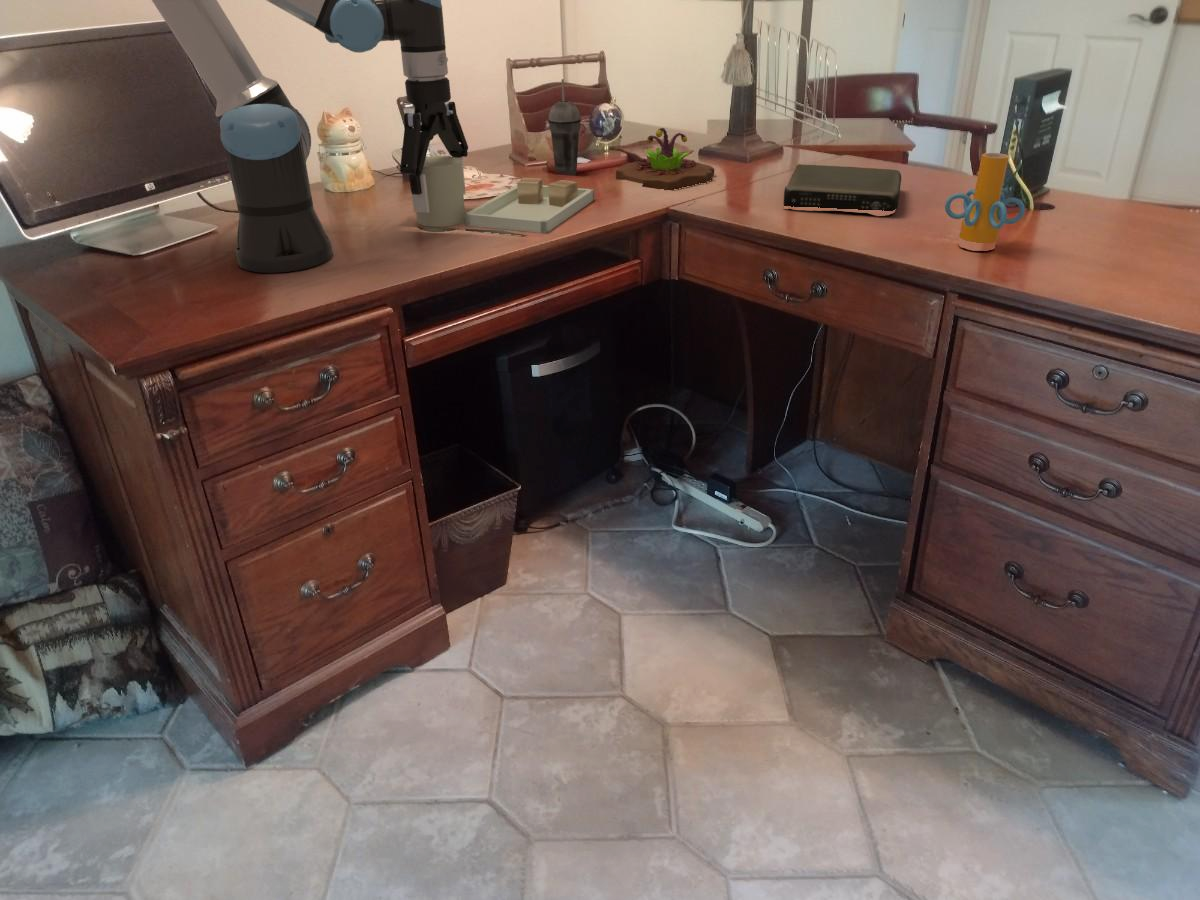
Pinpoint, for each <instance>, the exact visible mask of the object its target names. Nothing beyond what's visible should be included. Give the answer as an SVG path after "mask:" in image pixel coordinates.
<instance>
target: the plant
mask: <svg viewBox="0 0 1200 900" xmlns="http://www.w3.org/2000/svg"><path fill="white" fill-rule="evenodd" d="M667 133H668V132H667V130H666V129H665V128H664V127H660V128H659V129H657V130H656V132H655V135H649V136H648V137H647V138H646V139H647V142H648V143H649V144H652V143H654V140H655V141H657V143H658V144H659V145H660V147H661V148H659V147H657V148H656V150H655V151H654V150H651V149H648V148H646V149H645V152H646V153H647V154H645V155H644V156H645V157H647V158H642V159H640V158H635V159H634V161H632V162H629V163H625V164H622V165H621V166H619V167H618V168H617V169H616V170H615V180H618V181H620V180H621V181H628V182H632V183H638V184H642V185H641V188H647V189H648V188H649V189H655V190H660V189H664V190H663V191H667V190H672V191H675V190H674V189H678V190H680V189H679V188H681V189H683V188H682V187H687V186H691V187H693V186H692V185H694V186H696V185H695V184H698V185H700V184H699V183H706V184H707V182H706V181H710V180H712V181H713V178H714V177H715V168H714V167H713V166H711V165H709V164H705V163H700V162H697V161H695V160H692V159H687V158H685V157H687V156H688V155H689V154H690V151H687V152H683V153H682V152H680V153H679V151H680V149H679V148H675V146H674V145H675V141H676V139H677V138H678V137H679V136H680V139H681V141H682V142H683V143H686V142H687V141H688V137H687V136H686V134H685V133H681V132H678V133H675V134H674V135H673V137H672V138H671V139H670V140H669V137H668V136H669V135H668V134H667ZM662 136H663V140H661V137H662ZM669 141H670V142H669ZM713 176H714V177H713ZM710 182H711V181H710ZM687 188H688V187H687Z"/></svg>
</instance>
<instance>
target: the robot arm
mask: <svg viewBox="0 0 1200 900" xmlns="http://www.w3.org/2000/svg"><path fill="white" fill-rule="evenodd" d="M151 1H152V3H153V4H154V6H155V8H156V9H157V11H158V12H159V14H160V16H161V17H162V18H163V20H164V22H165V23H166V25H167V26H168V28H169V29H170V30H171V32H172V34H173V35H174V36H175V38H176V40H177V42H178V43H179V44H180V46H181V47H182V49H183V51H184V52H185V54H186V56H187V57H188V58H189V60H190V61H191V63H192V65H193V66H194V67H195V69H196V71H197V72H198V74H199V75H200V77H201V78H202V80H203V81H204V83H205V85H206V86H207V87H208V88H209V91H210V92H211V94H212V95H213V96H214V98H215V100H216V107H215V109H216V110H215V114H214V115H215V117H216V119H217V120H218V121H219V127H220V134H219V135H220V141H221V143H222V146H223V148H224V153H225V157H226V162H227V167H228V170H229V176H230V180H231V184H232V188H233V189H232V190H233V193H234V199H235V202H236V203H235V204H236V206H237V207H236V208H237V212H238V227H237V235H236V236H237V238H236V240H237V241H236V243H237V244H236V246H235V256H236V259H237V264H238V266H239V267H240V268H241V269H243V270H245V271H249V272H254V273H261V274H262V273H265V274H268V273H269V274H270V273H273V274H274V273H278V274H279V273H287V272H289V273H290V272H295V271H300V270H305V269H309V268H313V267H316V266H319V265H321V264H324V263H326V262H327V261H329V260H330V259H331V258H332V257H333V248H332V242H331V240H330V238H329V236H328V235H327V233H326V231H325V230H324V227H323V224H322V223H321V220H320V219H319V216H318V214H317V213H316V210H315V207H314V202H313V196H312V191H311V185H310V179H309V175H308V174H309V173H308V168H307V161H308V158H309V155H310V153H311V149H312V148H311V146H312V135H311V133H310V131H311V130H310V127H309V125H308V122H307V121H306V118H305V117H304V116H303V114H302V113H300V111H299V110H298V109H297V108H295V107H294V106H293V105H292V103H291V102H290V100H289V99H288V96H287V94H286V93H285V92H284V90H283V88H282V87H281V86H280V83H279V82H278V81H277V80H275V79H272V78H270V77H267V76H265V75H264V74H263V73H262V71H261V70H260V68H259V67H258V65H257V63H256V62H255V60H254V58H253V57H252V55H251V53H250V51H248V49H247V47H246V45H245V44H244V42H243V41H242V39H241V38H240V36H239V34H238V33H237V30H236V29H235V28H234V26H233V24H232V22H231V21H230V19H229V18H228V16H227V15H226V13H225V11H224V10H223V8H222V7H221V6H222V5H221V4H220V3H219V1H218V0H151ZM266 2H269V3H270V4H272V5H273V6H276V7H278V8H279V9H281V10H283V11H284V12H286V13H288V14H290V15H291V16H293V17H295V18H297V19H299V20H301V21H302V22H304V23H305V24H307V25H309V26H311V27H313V28H315V29H317V30H318V31H319V32H321V33H323V34H324V37H325V39H326V41H327V42H328V43H330V44H339V46H341V47H343V48H344V49H346V50H348V51H350V52H353V53H360V54H361V53H365V52H368V51H371V50H373V49H374V48H376V47H377V46H378V44H379V43H380V42H387V41H389V42H394V41H399V44H400V52H401V53H400V55H401V62H402V63H401V64H402V71H403V76H404V77H406V80H405V81H404V86H405V93H406V100H407V102H408V103H409V104H412V105H413V107H414V110H413V111H414V112H413V113H412V112H411V113H410V112H405V113H404V114H403V121H404V123H403V124H404V129H403V131H404V132H403V140H402V141H403V142H402V148H401V156H400V157H401V158H400V165H399V167H400V168H399V171H400V174H403V175H404V176H406V175H407V176H408V177H409V184H410V192H411V197H412V205H413V212H415V213H416V212H423V213H428V212H430V211H429V203H428V194H427V186H426V178H425V174H422V170H423V166H424V163H425V159H426V157H427V153H428V151H429V145H430V142H431V141H433V139H434V137H435V136H438V138H439V139H440V141H441V142H442V144H443V146H444V147H445V149H446V151H447V152H448V155H449V156H450V157H456V158H459V159H460V160H461V172H462V185H463V195H465V194H466V183H465V174H464V173H465V172H464V162H463V158H466V157H467V158H468V150H469V145H468V142H467V139H466V137H465V133H464V132H463V128H462V125H461V122H460V120H459V117H458V113H457V107H456V106H457V105H456V103H455V102H454V101H451V98H452V95H451V86H450V79H449V78H448V77H446V76H447V75H448V74H449V69H448V61H449V59H448V57H447V51H446V48H447V47H446V37H445V36H446V35H445V25H444V15H443V14H444V13H443V5H442V0H266ZM416 167H417V168H416Z"/></svg>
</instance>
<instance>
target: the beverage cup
mask: <svg viewBox="0 0 1200 900" xmlns="http://www.w3.org/2000/svg"><path fill="white" fill-rule="evenodd" d="M565 94H566V93H565V80H564V79H563V78H562V79H561V97H562V98H561V100H559V101H557V102H555V103H554V104H553V105H552V107H551V108H550V111H549V113H548V120H547V122H548V126H549V131H550V133H551V134H550V135H551V136H550V137H551V144H552V145H551V146H552V153H553V160H554V168H555V172H556V174H558V175H559V174H560V175H564V176H565V175H566V176H571V177H575V176H577V171H578V170H577V168H578V155H579V153H578V151H579V139H580V138H579V137H580V135H579V134H580V130H581V122H582V118H581V114H580V111H579V109H578V107H577V106H576V104H575V103H574V102H572V101H570V100H566V99H565V98H566V96H565Z"/></svg>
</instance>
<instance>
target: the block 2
mask: <svg viewBox="0 0 1200 900" xmlns="http://www.w3.org/2000/svg"><path fill="white" fill-rule="evenodd" d="M578 184H579V183H578V182H577V181H572V180H564V179H560V180H557V181H553V182H551V183H548V184H547V186H549V205H553V206H558V207H563V206H564V205H566V204H568V203H569V202H571V201H572V200H574V199H575V198H577V197H578V188H579V187H578Z"/></svg>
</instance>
